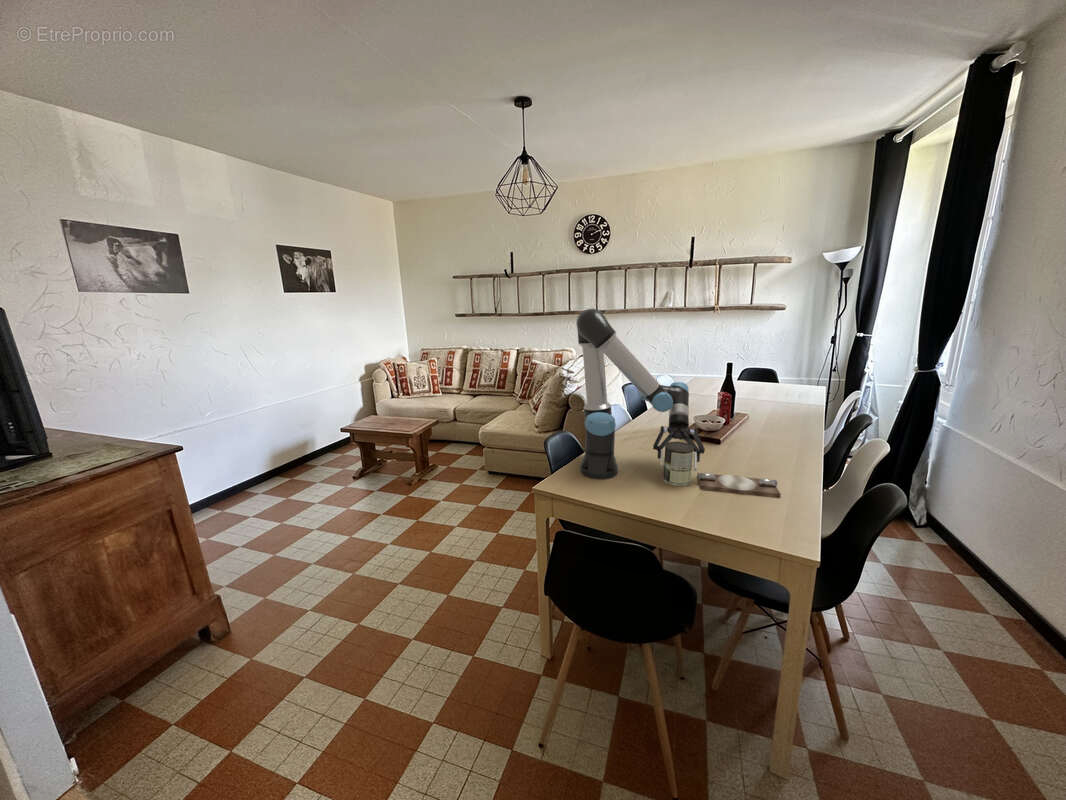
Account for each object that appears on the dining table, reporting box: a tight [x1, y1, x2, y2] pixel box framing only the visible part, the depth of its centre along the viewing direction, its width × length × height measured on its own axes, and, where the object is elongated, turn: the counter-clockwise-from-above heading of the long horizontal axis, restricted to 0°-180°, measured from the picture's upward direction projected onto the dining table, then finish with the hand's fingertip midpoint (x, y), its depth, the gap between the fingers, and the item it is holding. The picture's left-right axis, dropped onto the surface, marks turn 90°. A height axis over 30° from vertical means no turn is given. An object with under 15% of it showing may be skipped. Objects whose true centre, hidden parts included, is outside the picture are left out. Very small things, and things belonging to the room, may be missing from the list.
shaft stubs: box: [698, 472, 778, 488], centre depth 152 cm, size 26×2×2 cm, turn 74°
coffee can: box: [662, 441, 694, 487], centre depth 156 cm, size 10×10×14 cm
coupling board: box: [696, 472, 781, 499], centre depth 152 cm, size 26×13×2 cm, turn 74°
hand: (678, 467), depth 154 cm, fingers open, 11 cm apart
